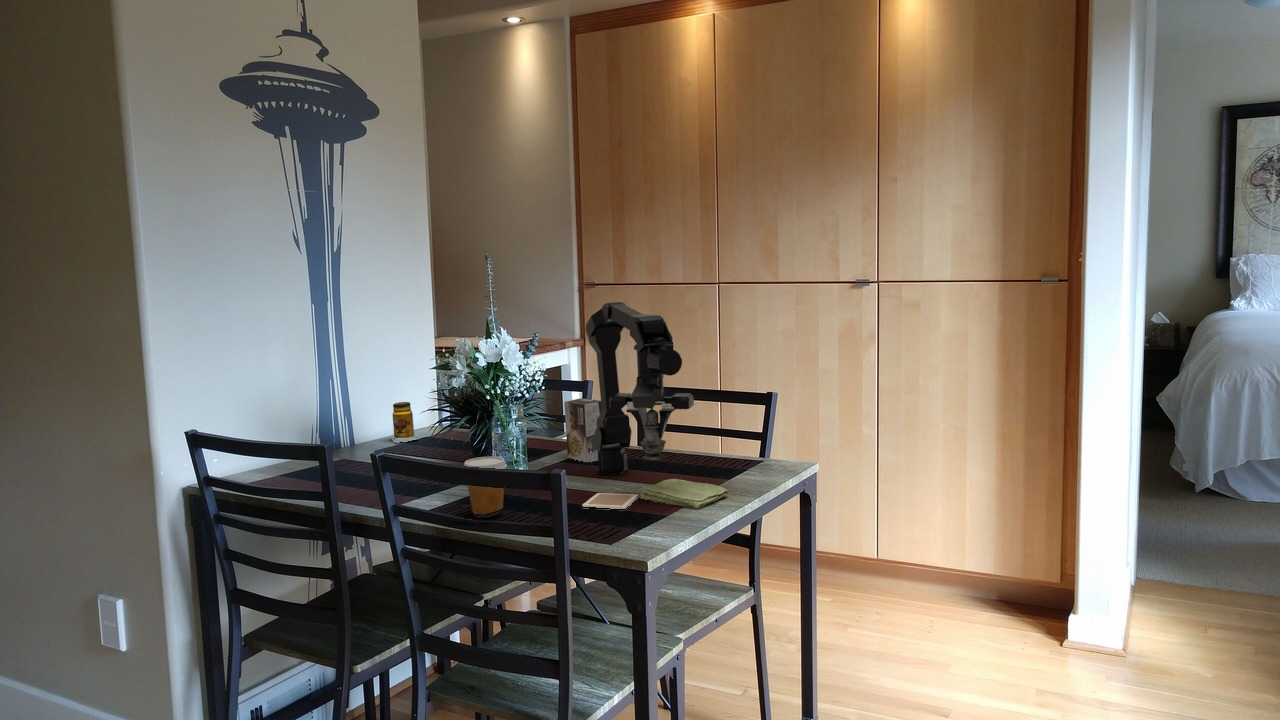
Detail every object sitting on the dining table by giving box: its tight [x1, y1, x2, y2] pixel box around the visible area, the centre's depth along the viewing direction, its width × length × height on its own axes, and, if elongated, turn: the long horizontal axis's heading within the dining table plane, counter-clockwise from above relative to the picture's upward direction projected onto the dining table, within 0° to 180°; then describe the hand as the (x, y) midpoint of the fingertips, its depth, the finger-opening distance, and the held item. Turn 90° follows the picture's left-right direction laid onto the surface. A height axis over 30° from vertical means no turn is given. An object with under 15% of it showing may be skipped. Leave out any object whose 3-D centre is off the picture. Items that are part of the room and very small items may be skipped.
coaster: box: [581, 492, 640, 510], centre depth 204 cm, size 10×10×1 cm
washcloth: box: [637, 478, 730, 510], centre depth 205 cm, size 13×18×3 cm
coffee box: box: [563, 398, 602, 464], centre depth 247 cm, size 9×6×16 cm
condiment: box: [392, 401, 415, 439], centre depth 283 cm, size 7×8×12 cm
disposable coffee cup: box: [463, 456, 508, 514], centre depth 198 cm, size 10×10×12 cm
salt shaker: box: [640, 407, 667, 461], centre depth 208 cm, size 6×6×12 cm
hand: (652, 438), depth 209 cm, fingers closed on salt shaker, 3 cm apart
